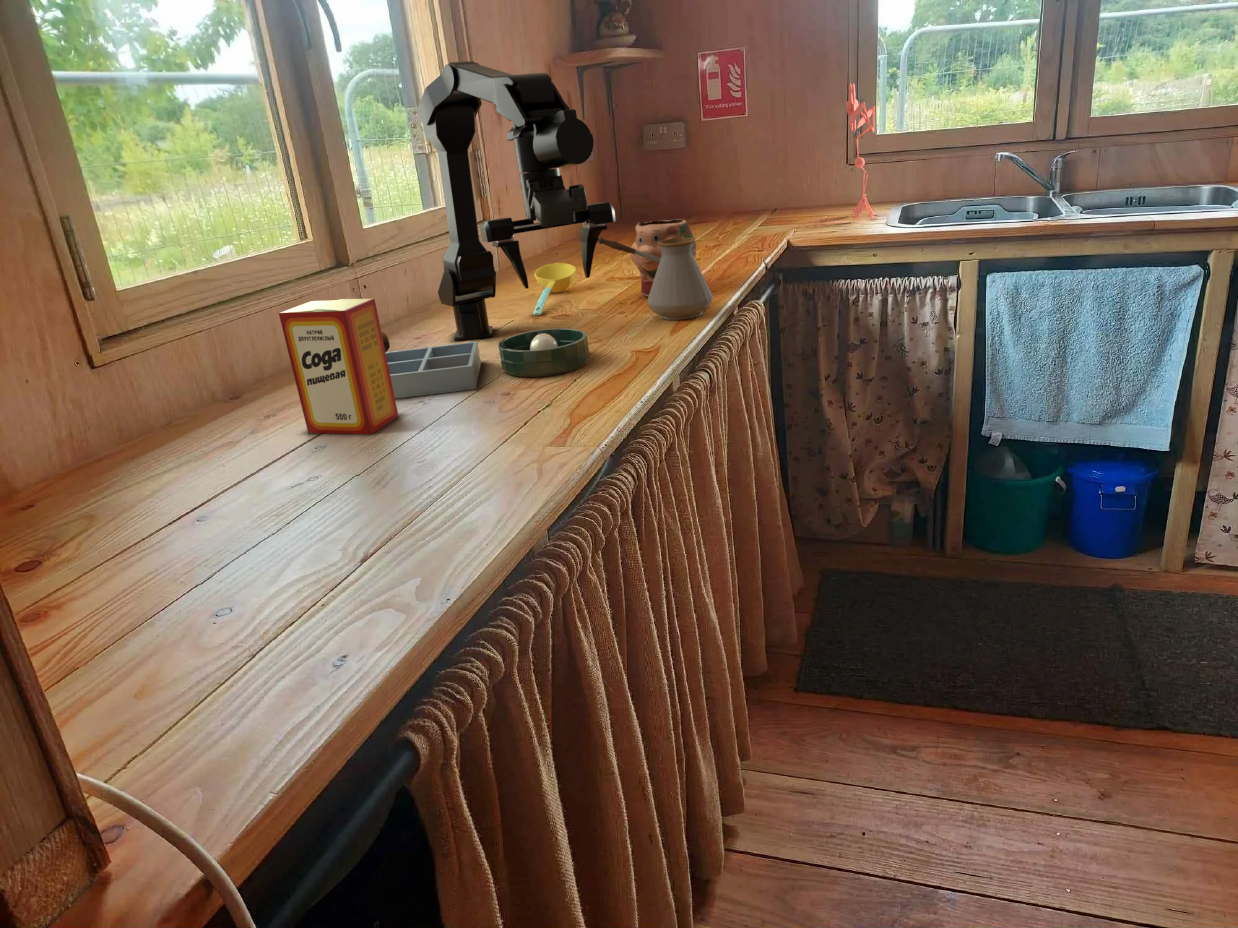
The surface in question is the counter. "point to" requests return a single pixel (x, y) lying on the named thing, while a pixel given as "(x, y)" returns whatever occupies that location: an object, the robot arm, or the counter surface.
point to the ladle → (553, 281)
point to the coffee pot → (674, 280)
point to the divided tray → (434, 369)
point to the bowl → (544, 353)
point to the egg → (543, 342)
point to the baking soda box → (340, 365)
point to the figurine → (854, 112)
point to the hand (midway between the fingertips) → (557, 283)
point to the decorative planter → (656, 246)
